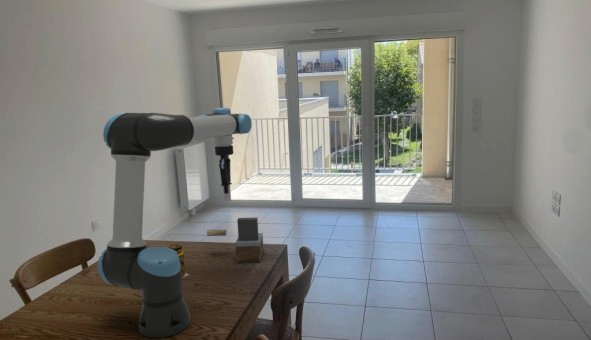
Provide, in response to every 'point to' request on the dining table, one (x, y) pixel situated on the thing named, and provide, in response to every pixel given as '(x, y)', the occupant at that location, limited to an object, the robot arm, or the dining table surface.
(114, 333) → the dining table surface
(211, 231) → the key
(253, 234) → the grey slotted stand
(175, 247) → the condiment
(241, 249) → the open wooden box
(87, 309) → the dining table surface
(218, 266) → the dining table surface
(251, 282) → the dining table surface
